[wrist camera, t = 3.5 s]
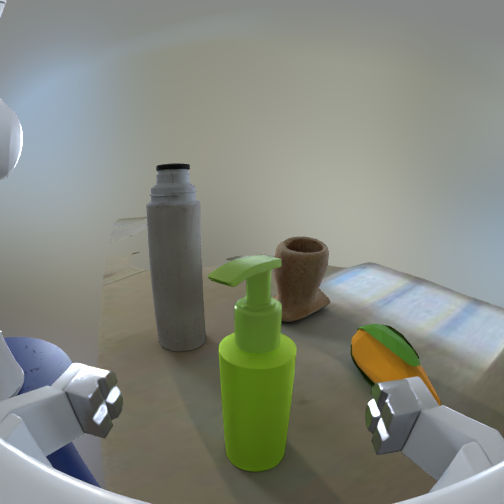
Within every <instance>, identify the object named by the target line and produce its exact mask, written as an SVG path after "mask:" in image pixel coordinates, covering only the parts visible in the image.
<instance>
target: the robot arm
mask: <svg viewBox="0 0 504 504" xmlns="http://www.w3.org/2000/svg"><path fill="white" fill-rule="evenodd" d="M6 1H7V0H0V17H1V14H2V12H3V9H4V6H5V3H6ZM21 148H22V128H21V125H20V122H19V120H18V117H17V116H16V114H15V113H14V112H13V110H11V109H10V108H9V107H8V106H7V105H6V104H5V103H4V102H3V101H2V99H1V98H0V180H1V179H4V178H6V177H8V175H9V174H10V173H11V172H12V170H13V169H14V167H15V165H16V163H17V161H18V159H19V156H20V152H21ZM117 382H118V381H117V378H116V375H115V373H114V372H112V371H110V370H105V369H101V368H97V367H93V366H88V365H84V364H80V363H73V364H72V365H71V366H70V367H69V368H68V369H67V370H66V371H65V372H64V373H63V374H62V375H61V376H60V377H59V378H58V379H57V380H56V382H55V383H54V384H53V385H52V386H51V387H49V386H45V387H42V388H39V389H36V390H33V391H30V392H27V393H24V394H21V395H18V396H16V395H17V394H18V393H19V391H20V390H21V388H22V385H23V383H24V372H23V370H22V368H21V367H20V366H19V364H18V363H17V362H16V360H15V359H14V357H13V355H12V354H11V352H10V350H9V348H8V346H7V344H6V342H5V340H4V338H3V336H2V333H1V331H0V504H151V503H147V502H143V501H139V500H136V499H132V498H129V497H126V496H122V495H119V494H116V493H113V492H110V491H107V490H104V489H101V488H99V487H96V486H93V485H91V484H88V483H86V482H83V481H81V480H78V479H76V478H74V477H71V476H69V475H67V474H65V473H62V472H60V471H58V470H56V469H54V468H52V465H51V464H50V462H49V461H48V460H47V458H46V457H45V456H47V455H49V454H51V453H52V452H54V451H56V450H58V449H59V448H61V447H63V446H64V445H66V444H68V443H69V442H71V441H73V440H75V439H76V438H78V437H80V436H81V435H83V434H84V433H87V434H91V435H94V436H98V437H101V438H106V437H107V435H108V433H109V432H110V430H111V428H112V427H113V424H112V420H113V419H115V418H117V417H118V416H119V415H120V413H121V411H122V406H123V398H122V394H121V391H120V390H119V389H118V388H117V387H116V386H115V385H116V384H117ZM371 394H372V396H373V399H372V400H371V401H370V402H369V403H368V405H367V408H366V418H365V419H366V425H367V428H368V431H370V432H371V433H373V434H374V435H373V437H372V443H373V446H374V449H375V452H376V455H380V454H386V453H392V452H398V451H401V452H402V453H403V454H404V455H405V456H407V457H408V458H409V459H410V460H412V461H413V462H414V463H415V464H417V465H418V466H419V467H420V468H422V469H423V470H424V471H425V472H427V473H428V474H429V475H431V476H432V477H433V478H434V479H436V480H437V483H436V484H435V485H434V486H433V488H432V489H431V490H430V491H429V493H428V494H425V495H422V496H419V497H415V498H412V499H408V500H405V501H401V502H397V503H394V504H504V439H503V437H502V436H501V434H500V433H499V432H498V430H496V429H493V428H491V427H489V426H487V425H484V424H482V423H480V422H478V421H476V420H473V419H471V418H469V417H467V416H465V415H463V414H461V413H458V412H456V411H454V410H452V409H450V408H448V407H446V406H444V405H442V406H439V405H438V403H437V402H436V400H435V399H434V397H433V396H432V394H431V393H430V391H429V390H428V388H427V387H426V385H425V384H424V382H423V381H422V379H421V378H420V377H418V376H417V377H411V378H405V379H401V380H394V381H387V382H379V383H375V384H374V386H373V388H372V391H371Z"/></svg>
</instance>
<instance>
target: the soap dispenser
mask: <svg viewBox="0 0 504 504" xmlns="http://www.w3.org/2000/svg"><path fill="white" fill-rule="evenodd" d="M279 267H281V259H279V258H274V257H269V256H264V255H255V256H249V257H243V258H239V259H236V260H233V261H230V262H228V263H226V264H224V265H222V266H221V267H219V268H217V269H216V270H214V271H213V272H211V273H210V274H209V275H208V276H207V277H208V278H209V279H210V280H211V281H214V282H218V283H221V284H224V285H228V286H231V287H235V286H237V285H238V284H239V283H241V282H242V281H244V280H246V297H244V298H242V299H240V300H238V301H237V302H236V303H235V333H232V334H230V335H228V336H227V337H225V338H224V339H223V340H222V341H221V342H220V344H219V364H220V381H221V396H222V409H223V422H224V434H225V446H226V454H227V457H228V459H229V460H230V462H231V463H232V464H233V465H235V466H236V467H238V468H240V469H243V470H246V471H252V472H259V471H265V470H268V469H271V468H273V467H275V466H276V465H277V464H278V463H279V462H280V461H281V460H282V458H283V456H284V453H285V446H286V438H287V431H288V423H289V415H290V407H291V398H292V389H293V380H294V370H295V360H296V345H295V343H294V342H293V340H292V339H290V338H289V337H288V336H286V335H284V334H282V333H281V319H282V305H281V303H280V302H279V301H278V300H276V299H274V298H273V297H271V270H272V269H275V268H279Z"/></svg>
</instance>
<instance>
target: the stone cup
mask: <svg viewBox="0 0 504 504" xmlns="http://www.w3.org/2000/svg"><path fill="white" fill-rule="evenodd" d="M328 257H329V251H328V247H327V246H326V245H325V244H324V243H323V242H321V241H319V240H317V239H313V238H309V237H292V238H289V239H287V240H285V241H283V242H281V243H280V244H279V245H278V247H277V249H276V253H275V258H279V259H281V267H279V268H275V269H274V275H275V280H276V284H277V289H278V295H276V296H273V298H274V299H276V300H278V301H279V302H280V303H281V305H282V319H281V321H286V322H292V321H296V320H300V319H302V318H305V317H307V316H309V315H311V314H313V313H314V312H316V311H318V310H320V309H321V308H323V307H325V306H326V305H328V304H329V303H330V300H329V298H328V297H327V296H326V295H325V294H324V293H323V292H321V290H320V289H319V286H320V283H321V281H322V279H323V277H324V274H325V272H326V270H327V266H328Z"/></svg>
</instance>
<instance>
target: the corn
mask: <svg viewBox="0 0 504 504" xmlns="http://www.w3.org/2000/svg"><path fill="white" fill-rule="evenodd" d="M351 357H352V359H353V362H354V364H355V365H356V367H357V368H358V370H359V371H360V373H361V374H362V375H363V377H364V378H365V380H366V381H367V382H368V383H369V384H370V386H371V387H372V388H373V386H374V384H375V383H379V382H387V381H394V380H401V379H405V378H411V377H417V376H418V377H420V378H421V379H422V381H423V382H424V384H425V385H426V387H427V388H428V390H429V391H430V393H431V394H432V396H433V397H434V399H435V400H436V402H437V403H438V405H439V406H441V401H440V399H439V397H438V395H437V393H436V391H435V389H434V387H433V386H432V384H431V382H430V380H429V378H428V376H427V374H426V372H425V371H424V369H423V368H422V367H421V366H420V362H419V356H418V354H417V353H416V351H415V350H414V349H413V347H412V346H411V344H410V343H409V342H408V341H407V339H406V338H405V337H404V336H403V335H402V334H401V333H399V332H398V331H397V330H395V329H394V328H392V327H391V326H387V325H380V324H370V325H365V326H362V327H360V328H358V331H357V333H356V334H355V335H354V336H353V337H352V345H351Z"/></svg>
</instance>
